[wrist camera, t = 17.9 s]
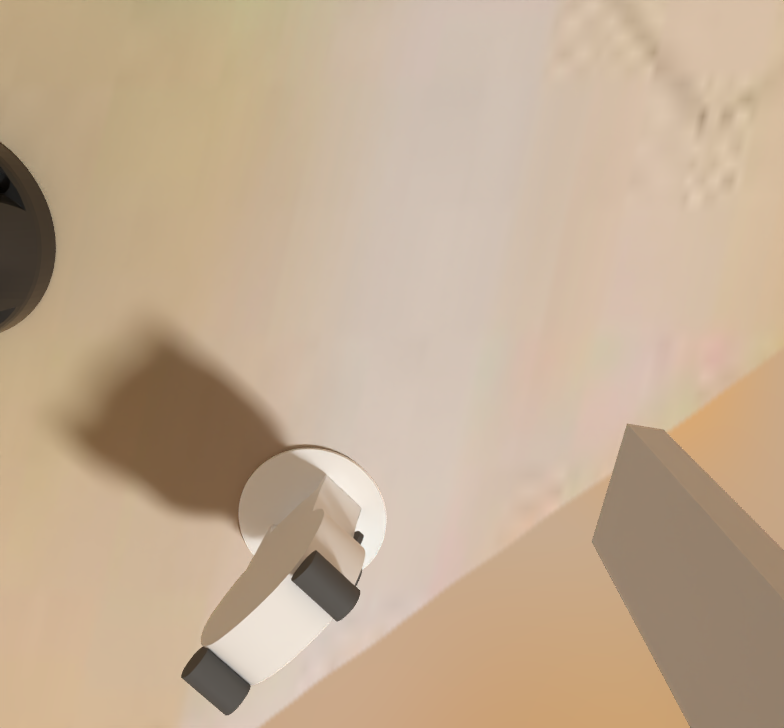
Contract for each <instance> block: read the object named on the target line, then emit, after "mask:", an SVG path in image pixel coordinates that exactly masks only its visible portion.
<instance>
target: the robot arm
mask: <svg viewBox="0 0 784 728" xmlns="http://www.w3.org/2000/svg"><path fill="white" fill-rule="evenodd" d="M55 252H56V243H55V232H54V226H53V221H52V217H51V214H50V210H49V208H48V205H47V202H46V200H45V198H44V195H43V193H42V191H41V189H40V188H39V186H38V184H37V182H36V181H35V179H34V178H33V176H32V175H31V174H30V172H29V171H28V170H27V168H26V167H25V166H24V165H23V164H22V162H21V161H20V160H19V159H18V158H17V157H16V156H15V155H14V154H13V153H12V152H10V151H9V150H8V149H7V148H6V147H4V146H3V145H2V144H0V332H3V331H5V330H7V329H9V328H11V327H13V326H15V325H16V324H18V323H19V322H21V321H22V320H23V319H24V318H26V317H27V316H28V315H29V314H30V313H31V312H32V311H33V309H34V308H35V307H36V306H37V304H38V303H39V302H40V300H41V299H42V297H43V295H44V293H45V291H46V290H47V287H48V285H49V282H50V279H51V276H52V273H53V268H54V262H55ZM592 543H593V545H594V547H595V549H596V551H597V553H598V554H599V556H600V558H601V560H602V562H603V564H604V566H605V568H606V569H607V571H608V573H609V575H610V577H611V579H612V581H613V583H614V584H615V586H616V588H617V590H618V592H619V594H620V596H621V598H622V600H623V602H624V603H625V605H626V607H627V609H628V611H629V613H630V615H631V616H632V619H633V620H634V622H635V624H636V626H637V628H638V630H639V632H640V634H641V635H642V637H643V639H644V641H645V643H646V645H647V647H648V649H649V651H650V652H651V654H652V656H653V658H654V660H655V662H656V664H657V666H658V667H659V669H660V671H661V673H662V675H663V677H664V679H665V681H666V683H667V684H668V686H669V688H670V690H671V692H672V694H673V696H674V698H675V700H676V701H677V703H678V705H679V707H680V709H681V711H682V713H683V715H684V716H685V718H686V720H687V722H688V724H689V726H690V728H784V550H783V549H782V548H781V547H780V546H779V545H778V544H777V543H776V542H775V541H774V540H773V539H772V538H771V537H770V536H769V535H768V534H767V533H766V532H765V531H764V530H763V529H762V528H761V527H760V526H759V525H758V524H757V523H756V522H755V521H754V520H753V519H752V518H751V517H750V516H749V515H748V514H747V513H746V512H745V511H744V510H743V509H742V508H741V507H740V506H739V505H738V504H737V503H736V502H735V501H734V500H733V499H732V498H731V497H730V496H729V495H728V494H727V493H726V492H725V491H724V490H723V489H722V488H721V487H720V486H719V485H718V484H717V483H716V482H715V481H714V480H713V479H712V478H711V477H710V476H709V475H708V474H707V473H706V472H705V471H704V470H703V469H702V468H701V467H700V466H699V465H698V464H697V463H696V462H695V461H694V460H693V459H692V458H691V457H690V456H689V455H688V454H687V453H686V452H685V451H684V450H683V449H682V448H681V447H680V446H679V445H678V444H677V443H676V442H675V441H674V440H673V439H672V438H671V437H670V436H669V435H668V434H667V433H666V432H665V431H664V430H662V429H656V428H650V427H644V426H638V425H632V424H627V426H626V429H625V433H624V436H623V439H622V443H621V446H620V449H619V453H618V456H617V459H616V463H615V466H614V469H613V473H612V476H611V479H610V483H609V486H608V489H607V493H606V496H605V499H604V503H603V506H602V509H601V513H600V516H599V519H598V522H597V526H596V529H595V532H594V536H593V539H592Z"/></svg>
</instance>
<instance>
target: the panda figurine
mask: <svg viewBox="0 0 784 728" xmlns="http://www.w3.org/2000/svg"><path fill="white" fill-rule="evenodd" d="M238 517H239V525H240V530H241V533H242V536H243V539H244V541H245V543H246V545H247V547H248V548H249V550H250V551H251V553H252V554H253V556H254V557H253V558H252V560H251V562H250V564H249V566H248V568H247V569H246V571H245V572H244V573H243V574H242V575H241V576H240V578H239V579H238V580H237V581H236V582H235V584H234V585H233V586H232V587H231V589H230V590H229V591H228V592H227V594H226V595H225V596H224V598H223V599H222V600H221V602H220V603H219V604H218V606H217V607H216V609H215V610H214V611H213V613H212V614H211V616H210V618H209V619H208V621H207V623H206V625H205V627H204V630H203V632H202V636H201V644H202V645H203V646H204V647H202V648H200V649H199V650H198V651H197V652H196V653H195V654H194V655H193V657H192V658H191V659H190V661H189V662H188V663H187V665H186V666H185V668H184V670H183V672H182V675H181V678H183V679H184V680H185V681H186V682H187V683H188V684H190V685H191V686H192V687H193V688H194V689H195V690H197V691H198V692H199V693H200V694H201V695H202V696H204V697H205V698H206V699H207V700H208V701H209V702H211V703H212V704H213V705H214V706H215V707H216V708H218V709H219V710H220V711H221V712H222V713H223V714H225V715H229V714H231V713H232V712H234V711H235V710H236V709H237V708H238V707H239V705H240V704H241V703H242V701H243V700H244V699H245V697H246V696H247V694H248V692H249V690H250V687H251V686H250V685H256V684H259V683H261V682H263V681H265V680H266V679H268V678H269V677H271V676H272V675H273V674H275V673H276V672H278V671H279V670H280V669H282V668H283V667H284V666H285V665H287V664H288V663H289V662H290V661H291V660H292V659H294V658H295V657H296V656H297V655H298V654H299V653H300V652H301V651H302V650H304V649H305V648H306V647H307V646H308V645H309V644H310V643H311V642H312V641H313V640H314V639H315V638H316V637H317V636H318V635H319V634H320V633H321V632H322V631H323V630H324V629H325V627H326V626H327V625H328V624H329V623H330V622H331V620H332V619H334V620H336V621H340V620H341V619H343V618H344V617H345V616H346V615H347V614H348V613H349V612H350V611H351V610H352V609H353V608H354V606H355V605H356V603H357V601H358V599H359V596H360V590H359V589H358V588H357V587H356V585H357V583H358V581H359V579H360V577H361V573H362V570H363V569H364V568H365V567H366V566H367V565H368V564H369V563H370V562H371V561H372V560H373V559H374V557H375V556H376V554H377V553H378V551H379V549H380V547H381V545H382V542H383V539H384V536H385V530H386V520H387V519H386V508H385V503H384V500H383V497H382V494H381V492H380V490H379V488H378V486H377V484H376V483H375V481H374V480H373V479H372V477H371V476H370V475H369V474H368V473H367V472H366V471H365V470H364V469H363V468H362V467H361V466H360V465H359V464H357V463H356V462H354V461H353V460H351V459H350V458H348V457H346V456H344V455H342V454H340V453H337V452H334V451H331V450H327V449H321V448H311V447H310V448H296V449H292V450H288V451H285V452H282V453H279V454H277V455H275V456H273V457H271V458H270V459H268V460H267V461H265V462H264V463H263V464H261V465H260V466H259V467H258V468H257V469H256V470H255V471H254V473H253V474H252V475H251V477H250V478H249V480H248V481H247V483H246V485H245V487H244V489H243V491H242V494H241V497H240V502H239V509H238Z"/></svg>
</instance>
